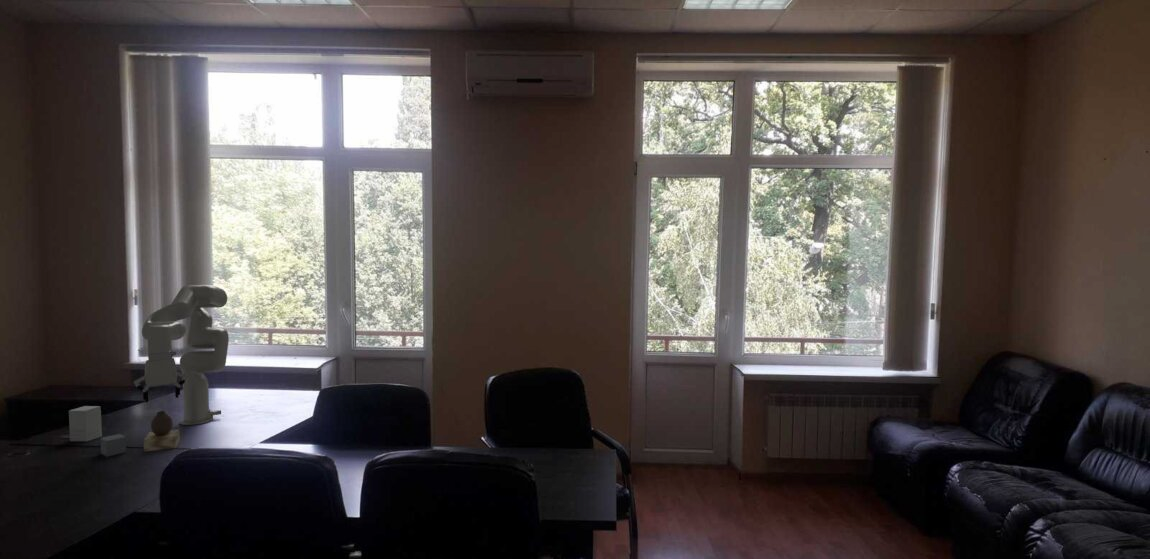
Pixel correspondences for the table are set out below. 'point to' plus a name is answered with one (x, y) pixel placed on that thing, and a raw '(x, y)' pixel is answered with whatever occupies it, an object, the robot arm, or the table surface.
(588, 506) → the table surface
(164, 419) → the vase
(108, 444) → the slate block
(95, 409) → the supplement box
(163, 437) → the birch block
